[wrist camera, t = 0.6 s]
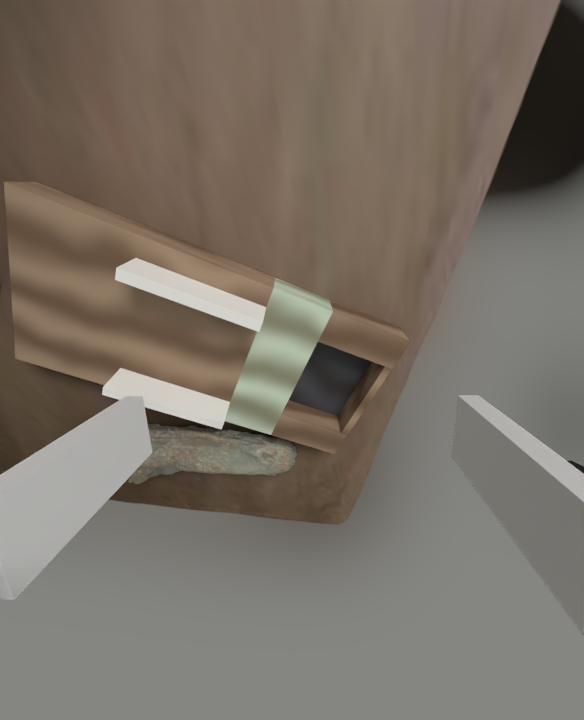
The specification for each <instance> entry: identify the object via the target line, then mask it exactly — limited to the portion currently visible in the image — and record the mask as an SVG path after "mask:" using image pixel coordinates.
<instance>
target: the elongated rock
mask: <svg viewBox="0 0 584 720" xmlns="http://www.w3.org/2000/svg"><path fill="white" fill-rule="evenodd" d="M148 429H149V435H150V441H151V447H152V454H151V455H150V456H149V457H148V458H147V459H146V460H145V461H144V462H143V463H142V464H141V465H140V466H139V467H138V468H137V469H136V471H135V472H134V473H133V474H132V475H131V476H130V477H129V478H128V481H129V483H131V482H133V483H134V484H140V483H142V482H144V481H146V480H147V479H148V478H150V477H153V476H157V475H159V474H165V475H171V474H174V473H176V472H179V471H183V470H184V471H185V472H186V471H187V472H189V471H195V472H198V473H200V472H202V473H209V474H216V473H226V474H235V475H239V474H245V475H256V474H265V475H268V476H269V475H272V476H275V475H276V474H279V473H282V472H285V471H288V470H289V469H290V468H291V467H292V466H293V465H294V464H295V458H296V456H297V453H296V447H295V446H294V445H293V444H292V442H291V441H289V440H286V439H283V438H276V437H269V436H266V435H262V434H250V433H248V432H240V431H235V430H218V429H215V430H214V429H212V428H201V427H197V426H194V425H190V426H182V427H177V426H168V425H166V426H160V425H159V424H148Z"/></svg>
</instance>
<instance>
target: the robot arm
mask: <svg viewBox="0 0 584 720" xmlns="http://www.w3.org/2000/svg"><path fill="white" fill-rule="evenodd" d="M151 454H152V447H151V441H150V435H149V429H148V424H147V418H146V412H145V406H144V401H143V396H126V397H124V398H122V399H121V400H119V401H118V402H116V403H114V404H113V405H111V406H110V407H108V408H106V409H105V410H103V411H102V412H100V413H98V414H97V415H95V416H94V417H92V418H90V419H89V420H87V421H86V422H84V423H82V424H81V425H79V426H78V427H76V428H74V429H73V430H71V431H70V432H68V433H66V434H65V435H63V436H62V437H60V438H58V439H57V440H55V441H54V442H52V443H50V444H49V445H47V446H46V447H44V448H42V449H41V450H39V451H38V452H36V453H34V454H33V455H31V456H30V457H28V458H26V459H25V460H23V461H22V462H20V463H18V464H17V465H15V466H14V467H12V468H10V469H9V470H7V471H6V472H4V473H2V474H1V475H0V599H9V600H14V599H15V598H16V597H17V596H18V595H19V594H20V593H21V592H22V591H23V590H24V589H25V588H26V587H27V586H28V585H29V583H30V582H31V581H32V580H33V579H34V578H35V577H36V576H37V575H38V574H39V573H40V572H41V571H42V570H43V569H44V567H46V565H47V564H48V563H49V562H50V561H51V560H52V559H53V558H54V557H55V556H56V555H57V554H58V553H59V552H60V550H61V549H62V548H63V547H64V546H65V545H66V544H67V543H68V542H69V541H70V540H71V539H72V538H73V537H74V536H75V535H76V533H77V532H78V531H79V530H80V529H81V528H82V527H83V526H84V525H85V524H86V523H87V522H88V521H89V520H90V518H91V517H92V516H93V515H94V514H95V513H96V512H97V511H98V510H99V509H100V508H101V507H102V506H103V505H104V504H105V503H106V501H107V500H108V499H109V498H110V497H111V496H112V495H113V494H114V493H115V492H116V491H117V490H118V489H119V488H120V487H121V485H122V484H123V483H124V482H125V481H126V480H127V479H128V478H129V477H130V476H131V475H132V474H133V473H134V472H135V471H136V469H137V468H138V467H139V466H140V465H141V464H142V463H143V462H144V461H145V460H146V459H147V458H148V457H149V456H150V455H151ZM451 457H452V459H453V460H454V461H455V463H456V464H457V465H458V467H459V468H460V469H461V471H462V472H463V473H464V475H465V476H466V477H467V479H468V480H469V482H470V483H471V484H472V486H473V487H474V488H475V490H476V491H477V492H478V494H479V495H480V496H481V498H482V499H483V500H484V502H485V503H486V504H487V506H488V507H489V508H490V510H491V511H492V513H493V514H494V515H495V517H496V518H497V519H498V521H499V522H500V524H501V525H502V526H503V528H504V529H505V530H506V532H507V533H508V534H509V536H510V537H511V538H512V540H513V541H514V542H515V544H516V545H517V547H518V548H519V549H520V551H521V552H522V553H523V555H524V556H525V557H526V558H527V560H528V561H529V563H530V564H531V565H532V567H533V568H534V569H535V571H536V572H537V574H538V575H539V576H540V578H541V579H542V580H543V582H544V583H545V584H546V586H547V587H548V588H549V590H550V591H551V593H552V594H553V595H554V597H555V598H556V599H557V601H558V602H559V603H560V605H561V606H562V607H563V609H564V610H565V612H566V613H567V614H568V616H569V617H570V618H571V620H572V621H573V622H574V624H575V625H576V626H577V628H578V629H579V630H580V632H581V633H582V634H583V635H584V467H583V466H581V465H579V464H577V463H575V462H573V461H566V460H565V459H563V458H562V457H561V456H559V455H558V454H557V453H555V452H554V451H552V450H551V449H550V448H549V447H547V446H546V445H545V444H543V443H542V442H541V441H539V440H538V439H536V438H535V437H534V436H532V435H531V434H530V433H528V432H527V431H526V430H524V429H523V428H522V427H520V426H519V425H517V424H516V423H515V422H514V421H512V420H511V419H510V418H508V417H507V416H505V415H504V414H503V413H501V412H500V411H499V410H497V409H496V408H495V407H493V406H492V405H490V404H489V403H488V402H487V401H485V400H484V399H482V398H481V397H480V396H477V395H474V396H473V395H471V396H470V395H467V396H465V395H464V396H460V395H459V396H458V402H457V411H456V420H455V429H454V438H453V446H452V455H451Z"/></svg>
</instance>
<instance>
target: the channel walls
mask: <svg viewBox="0 0 584 720" xmlns="http://www.w3.org/2000/svg"><path fill="white" fill-rule="evenodd" d="M115 280H117V281H119V282H122V283H125V284H128V285H130V286H133V287H136V288H139V289H142V290H144V291H147V292H150V293H153V294H155V295H158V296H161V297H164V298H166V299H169V300H172V301H175V302H177V303H180V304H183V305H186V306H188V307H191V308H194V309H197V310H199V311H202V312H205V313H208V314H211V315H213V316H216V317H219V318H222V319H224V320H227V321H230V322H233V323H235V324H238V325H241V326H244V327H246V328H249V329H252V330H255V331H257V332H259V331H260V329H261V326H262V323H263V320H264V315H265V311H266V307H264V306H262V305H259V304H256V303H254V302H251V301H248V300H246V299H243V298H241V297H238V296H235V295H233V294H230V293H227V292H225V291H222V290H219V289H217V288H214V287H212V286H209V285H206V284H204V283H201V282H198V281H196V280H193V279H191V278H188V277H185V276H183V275H180V274H177V273H175V272H172V271H169V270H167V269H164V268H162V267H159V266H156V265H154V264H151V263H148V262H146V261H143V260H141V259H138V258H135V259H133V260H131V261H129V262H127V263H124V264H122V265H120V266H118V267H116V274H115ZM102 395H105V396H108V397H112V398H115V399H118V400H121V399H122V398H124V397H126V396H143V401H144V406H145V407H146V408H149V409H153V410H156V411H159V412H163V413H166V414H170V415H173V416H177V417H180V418H183V419H187V420H190V421H194V422H197V423H200V424H204V425H207V426H211V427H214V428H218V429H221V430H222V427H223V424H224V421H225V418H226V415H227V411H228V408H229V404H230V402H229V401H225V400H222V399H219V398H216V397H212V396H209V395H206V394H203V393H200V392H196V391H193V390H190V389H187V388H184V387H180V386H177V385H174V384H171V383H168V382H164V381H161V380H158V379H155V378H152V377H148V376H145V375H142V374H139V373H135V372H132V371H129V370H126V369H123V368H120V369H119V370H118V371H117V372H116V373H115V374H114V375H113V377H112V378H111V379H110V380H109V381H108V382H107V383H106V384H105V385H104V386H103V392H102Z"/></svg>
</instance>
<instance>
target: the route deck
mask: <svg viewBox="0 0 584 720" xmlns="http://www.w3.org/2000/svg"><path fill="white" fill-rule="evenodd" d="M4 191H5V206H6V222H7V237H8V253H9V268H10V283H11V299H12V314H13V330H14V345H15V359H18V360H21V361H25V362H28V363H31V364H35V365H38V366H41V367H45V368H48V369H52V370H55V371H58V372H62V373H65V374H68V375H72V376H75V377H78V378H82V379H85V380H88V381H92V382H95V383H98V384H102V385H105V384H106V383H107V382H108V381H109V380H110V379H111V378H112V377H113V375H114V374H115V373H116V372H117V371H118V370H119V369H120V368H123V369H126V370H129V371H132V372H135V373H139V374H142V375H145V376H148V377H152V378H155V379H158V380H161V381H164V382H168V383H171V384H174V385H177V386H180V387H184V388H187V389H190V390H193V391H196V392H200V393H203V394H206V395H209V396H212V397H216V398H219V399H222V400H225V401H229V402H230V404H229V408H228V411H227V415H226V418H225V421H226V422H229V423H232V424H236V425H239V426H242V427H246V428H249V429H252V430H256V431H259V432H263V433H266V434H269V435H273V436H276V437H279V438H283V439H286V440H289V441H293V442H296V443H299V444H303V445H306V446H309V447H313V448H316V449H319V450H323V451H326V452H330V453H333V454H335V453H336V451H337V450H338V448H339V447H340V445H341V444H342V442H343V441H344V439H345V438H346V437H347V435H348V434H349V432H350V431H351V429H352V428H353V426H354V425H355V423H356V422H357V420H358V419H359V417H360V416H361V414H362V413H363V411H364V410H365V408H366V407H367V406H368V404H369V403H370V401H371V400H372V398H373V397H374V395H375V394H376V392H377V391H378V389H379V388H380V386H381V385H382V383H383V382H384V380H385V379H386V377H387V376H388V374H389V373H390V372H391V370H392V369H393V367H394V366H395V364H396V363H397V361H398V360H399V358H400V357H401V355H402V354H403V352H404V351H405V349H406V348H407V346H408V345H409V343H410V341H409V340H408V338H407V337H406V335H405V334H404V333H403V331H402V330H401V328H399V327H397V326H394V325H392V324H389V323H387V322H384V321H382V320H379V319H377V318H374V317H372V316H369V315H367V314H364V313H362V312H359V311H357V310H354V309H352V308H349V307H347V306H344V305H342V304H339V303H337V302H334V301H332V300H330V299H327V298H325V297H322V296H320V295H317V294H315V293H312V292H310V291H307V290H305V289H302V288H300V287H297V286H295V285H292V284H290V283H287V282H285V281H282V280H280V279H277V278H275V277H272V276H270V275H267V274H265V273H262V272H260V271H257V270H255V269H252V268H250V267H247V266H245V265H242V264H240V263H237V262H235V261H232V260H230V259H227V258H225V257H222V256H220V255H217V254H215V253H212V252H210V251H207V250H205V249H202V248H200V247H197V246H195V245H192V244H190V243H187V242H185V241H182V240H180V239H178V238H175V237H173V236H170V235H168V234H165V233H163V232H160V231H158V230H155V229H153V228H150V227H148V226H145V225H143V224H140V223H138V222H135V221H133V220H130V219H128V218H125V217H123V216H120V215H118V214H115V213H113V212H110V211H108V210H105V209H103V208H100V207H98V206H95V205H93V204H90V203H88V202H85V201H83V200H80V199H78V198H75V197H73V196H70V195H68V194H65V193H63V192H60V191H58V190H55V189H53V188H50V187H48V186H45V185H43V184H40V183H38V182H4ZM135 258H138V259H141V260H143V261H146V262H148V263H151V264H154V265H156V266H159V267H162V268H164V269H167V270H169V271H172V272H175V273H177V274H180V275H183V276H185V277H188V278H191V279H193V280H196V281H198V282H201V283H204V284H206V285H209V286H212V287H214V288H217V289H219V290H222V291H225V292H227V293H230V294H233V295H235V296H238V297H241V298H243V299H246V300H248V301H251V302H254V303H256V304H259V305H262V306H264V307H266V311H265V315H264V320H263V323H262V326H261V329H260V331H259V332H257V331H255V330H252V329H249V328H246V327H244V326H241V325H238V324H235V323H233V322H230V321H227V320H224V319H222V318H219V317H216V316H213V315H211V314H208V313H205V312H202V311H199V310H197V309H194V308H191V307H188V306H186V305H183V304H180V303H177V302H175V301H172V300H169V299H166V298H164V297H161V296H158V295H155V294H153V293H150V292H147V291H144V290H142V289H139V288H136V287H133V286H130V285H128V284H125V283H122V282H119V281H117V280H115V274H116V267H118V266H120V265H122V264H124V263H127V262H129V261H131V260H133V259H135Z"/></svg>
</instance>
